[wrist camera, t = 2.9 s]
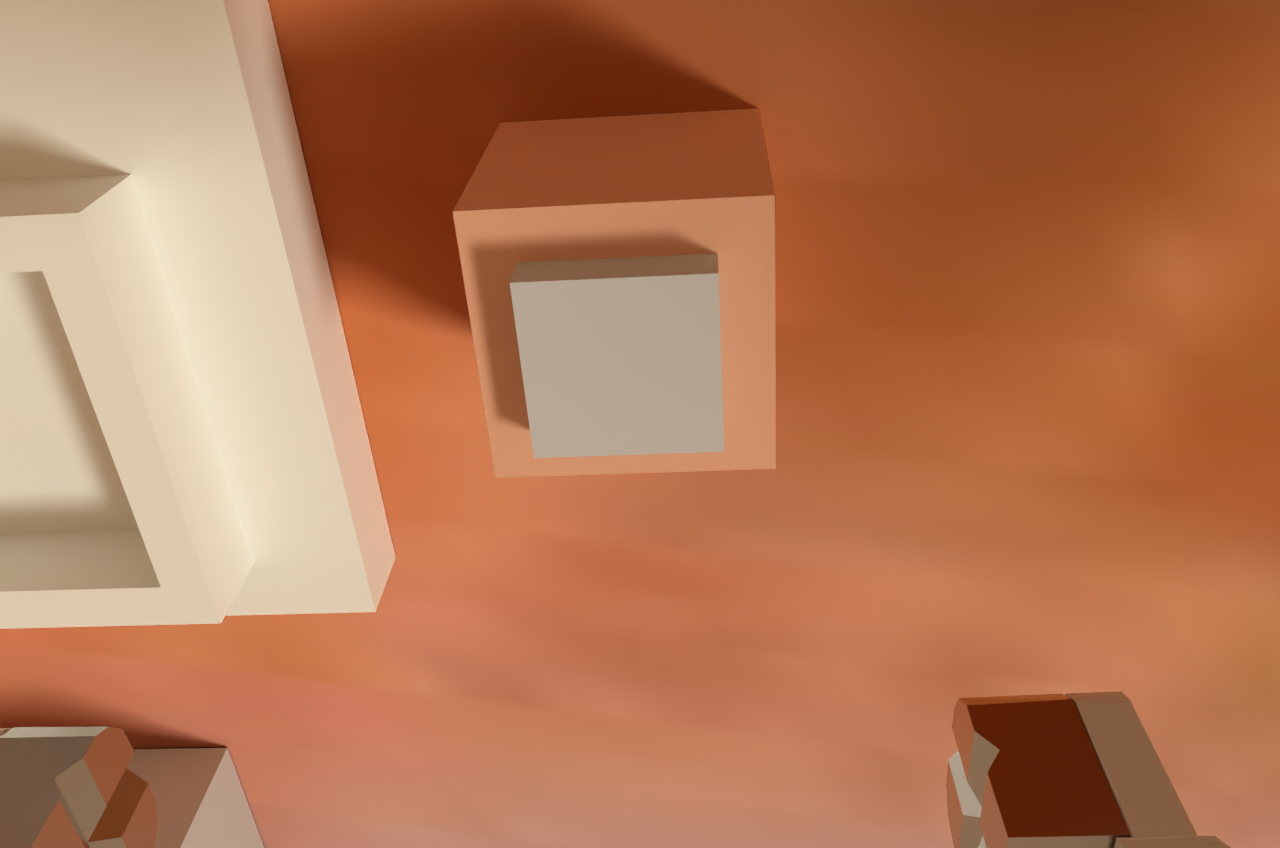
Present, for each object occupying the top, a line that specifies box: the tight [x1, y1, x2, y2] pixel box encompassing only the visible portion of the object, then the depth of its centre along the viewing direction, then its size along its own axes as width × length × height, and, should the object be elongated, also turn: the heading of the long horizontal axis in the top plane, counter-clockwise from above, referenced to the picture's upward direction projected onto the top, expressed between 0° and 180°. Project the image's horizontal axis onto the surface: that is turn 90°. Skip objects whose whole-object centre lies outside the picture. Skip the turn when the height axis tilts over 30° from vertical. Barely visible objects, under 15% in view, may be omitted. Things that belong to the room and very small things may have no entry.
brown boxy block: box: [453, 108, 776, 478], centre depth 20 cm, size 5×5×6 cm
